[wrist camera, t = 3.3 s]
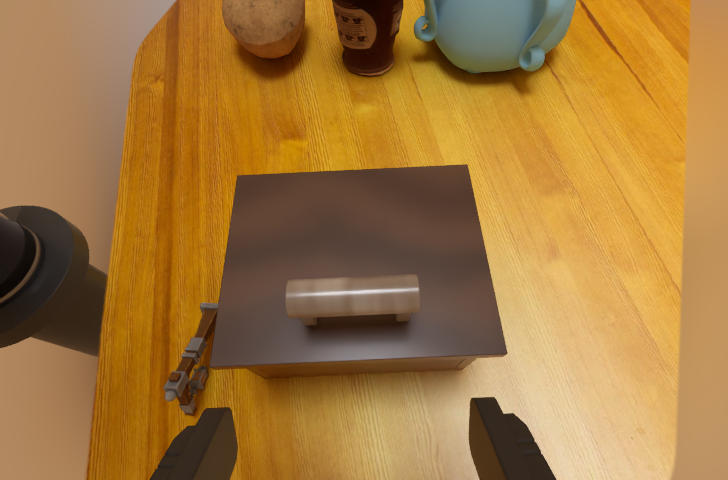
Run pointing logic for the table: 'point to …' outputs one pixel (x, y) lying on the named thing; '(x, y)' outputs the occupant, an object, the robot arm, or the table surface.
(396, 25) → the coffee cup
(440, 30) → the decorative pot
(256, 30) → the potato
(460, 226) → the lid
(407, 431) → the table surface
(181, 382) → the wooden post with brackets
